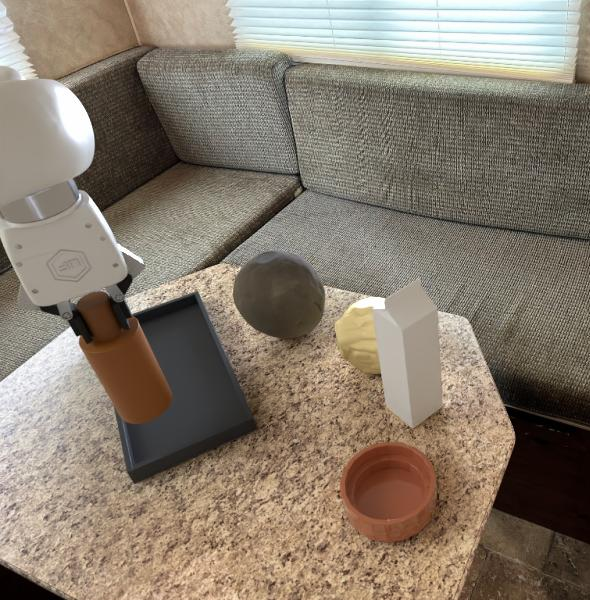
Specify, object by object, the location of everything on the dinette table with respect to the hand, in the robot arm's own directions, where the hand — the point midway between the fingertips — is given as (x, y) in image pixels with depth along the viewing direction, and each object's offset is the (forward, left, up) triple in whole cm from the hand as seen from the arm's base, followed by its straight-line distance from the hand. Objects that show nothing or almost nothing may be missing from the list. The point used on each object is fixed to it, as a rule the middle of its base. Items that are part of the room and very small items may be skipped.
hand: (106, 328), depth 73 cm
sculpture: (+34, -1, -22) cm, 40 cm away
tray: (+4, +13, -22) cm, 26 cm away
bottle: (0, 0, -14) cm, 14 cm away
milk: (+34, -13, -22) cm, 42 cm away
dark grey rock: (+24, +13, -22) cm, 35 cm away
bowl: (+24, -25, -22) cm, 41 cm away
